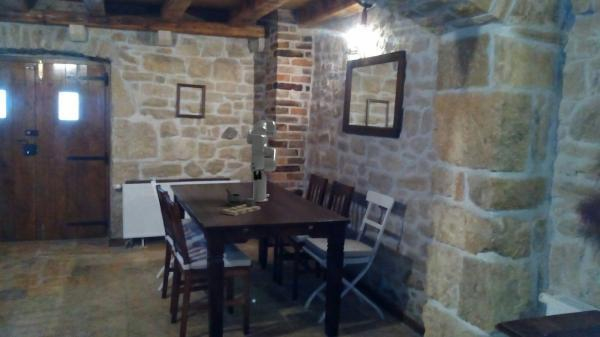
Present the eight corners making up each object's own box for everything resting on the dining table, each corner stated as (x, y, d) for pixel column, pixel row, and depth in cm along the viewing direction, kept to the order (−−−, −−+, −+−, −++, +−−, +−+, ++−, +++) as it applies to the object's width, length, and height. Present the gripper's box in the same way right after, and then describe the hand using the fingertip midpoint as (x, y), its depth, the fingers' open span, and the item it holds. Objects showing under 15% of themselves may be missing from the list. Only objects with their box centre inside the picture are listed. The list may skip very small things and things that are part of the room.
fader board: (246, 207, 331) (246, 204, 331) (260, 209, 325) (260, 206, 325) (220, 213, 310) (220, 209, 309) (235, 215, 303) (235, 212, 303)
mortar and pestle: (238, 203, 344) (238, 186, 343) (243, 205, 336) (243, 188, 335) (223, 204, 339) (223, 187, 338) (227, 206, 331) (228, 189, 329)
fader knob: (249, 204, 328) (249, 198, 328) (255, 205, 326) (255, 199, 325) (245, 205, 325) (246, 198, 324) (251, 206, 322) (251, 199, 322)
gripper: (261, 151, 336) (260, 178, 338) (246, 153, 322) (245, 180, 324) (269, 152, 332) (269, 179, 334) (254, 154, 318) (254, 181, 320)
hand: (257, 179), depth 329 cm, fingers open, 3 cm apart
